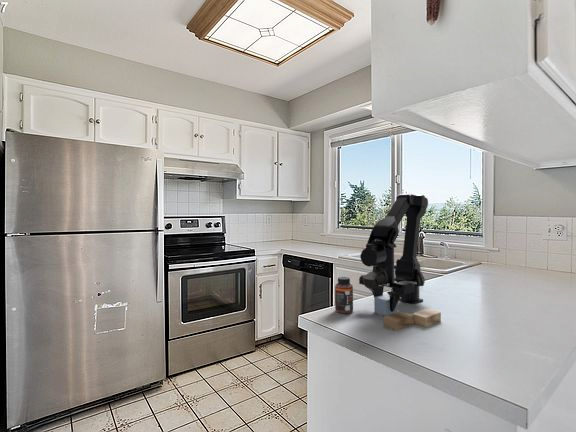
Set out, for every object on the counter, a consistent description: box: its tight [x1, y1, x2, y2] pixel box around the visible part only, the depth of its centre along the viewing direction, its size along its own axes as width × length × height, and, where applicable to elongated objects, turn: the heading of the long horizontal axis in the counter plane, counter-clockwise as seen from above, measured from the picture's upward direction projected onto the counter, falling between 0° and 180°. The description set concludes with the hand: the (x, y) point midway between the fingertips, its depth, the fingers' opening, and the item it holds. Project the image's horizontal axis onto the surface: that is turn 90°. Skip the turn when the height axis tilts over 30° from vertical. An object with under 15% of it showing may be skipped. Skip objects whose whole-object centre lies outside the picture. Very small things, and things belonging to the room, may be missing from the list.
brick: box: [411, 308, 442, 328], centre depth 99 cm, size 8×4×3 cm, turn 125°
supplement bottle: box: [334, 276, 354, 314], centre depth 111 cm, size 6×6×11 cm
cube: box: [373, 294, 398, 316], centre depth 109 cm, size 5×5×5 cm
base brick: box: [382, 311, 415, 331], centre depth 97 cm, size 8×4×3 cm, turn 123°
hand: (385, 309), depth 109 cm, fingers closed on cube, 5 cm apart
